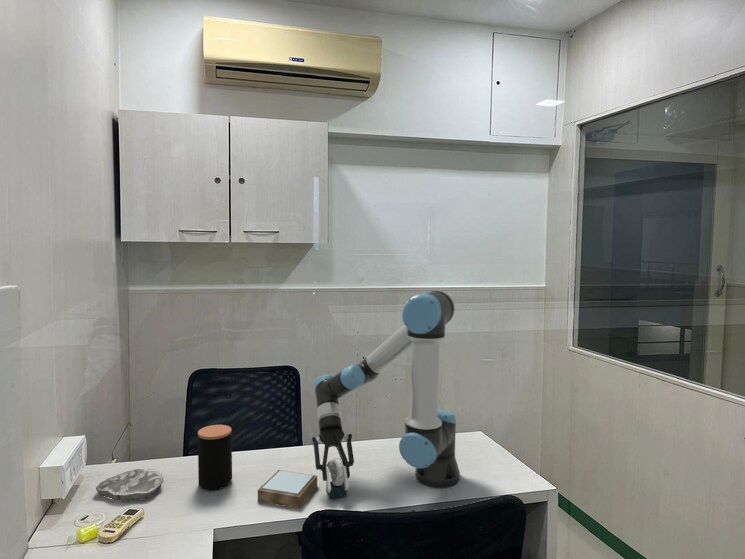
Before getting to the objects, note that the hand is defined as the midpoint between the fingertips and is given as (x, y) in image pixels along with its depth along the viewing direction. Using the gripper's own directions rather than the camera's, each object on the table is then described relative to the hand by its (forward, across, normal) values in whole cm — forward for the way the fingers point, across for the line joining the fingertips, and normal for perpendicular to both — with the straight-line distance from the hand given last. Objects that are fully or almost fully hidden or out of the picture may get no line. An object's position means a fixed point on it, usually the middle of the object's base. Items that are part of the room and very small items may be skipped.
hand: (338, 489), depth 148 cm
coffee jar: (-12, +38, -17) cm, 43 cm away
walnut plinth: (-3, +14, -9) cm, 17 cm away
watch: (0, 0, -5) cm, 5 cm away
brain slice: (-13, +63, -19) cm, 67 cm away
